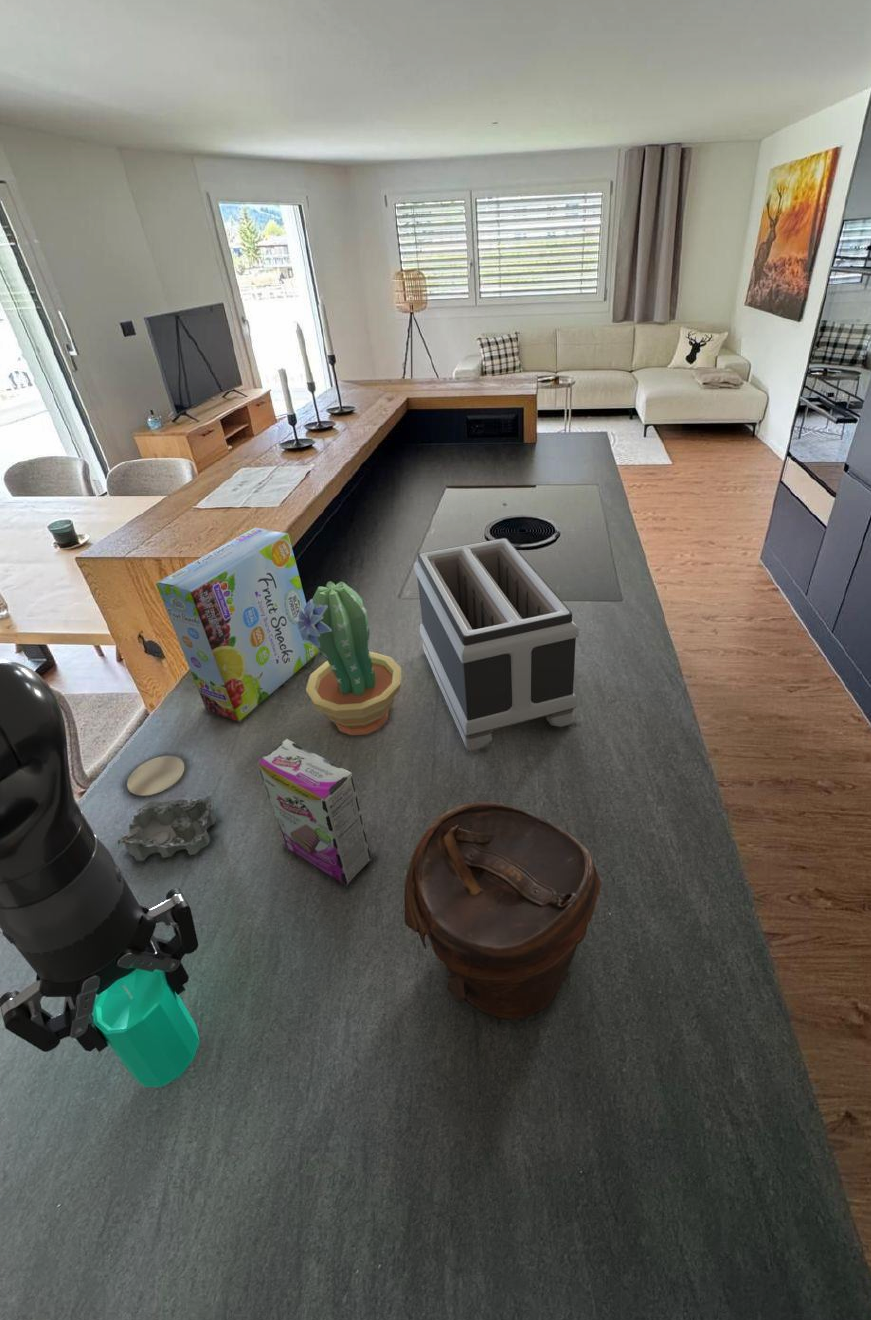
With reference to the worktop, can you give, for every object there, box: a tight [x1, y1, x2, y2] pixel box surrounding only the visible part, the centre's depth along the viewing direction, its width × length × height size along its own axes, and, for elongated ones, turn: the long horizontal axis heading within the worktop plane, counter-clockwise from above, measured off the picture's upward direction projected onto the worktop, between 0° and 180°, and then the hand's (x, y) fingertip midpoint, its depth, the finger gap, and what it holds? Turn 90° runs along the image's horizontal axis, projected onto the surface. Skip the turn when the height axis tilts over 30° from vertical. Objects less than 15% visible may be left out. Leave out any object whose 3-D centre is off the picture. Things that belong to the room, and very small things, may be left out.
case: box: [403, 801, 602, 1019], centre depth 64 cm, size 18×20×18 cm
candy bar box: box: [257, 738, 372, 886], centre depth 76 cm, size 11×5×16 cm, turn 58°
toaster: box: [413, 537, 579, 751], centre depth 105 cm, size 18×34×21 cm, turn 18°
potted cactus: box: [297, 580, 403, 736], centre depth 97 cm, size 15×15×25 cm
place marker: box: [126, 755, 185, 797], centre depth 94 cm, size 8×8×1 cm
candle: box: [92, 969, 201, 1088], centre depth 56 cm, size 6×6×12 cm
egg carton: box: [117, 795, 217, 862], centre depth 83 cm, size 11×8×4 cm
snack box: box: [155, 527, 320, 723], centre depth 106 cm, size 22×9×26 cm, turn 154°
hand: (140, 1011), depth 55 cm, fingers closed on candle, 6 cm apart
